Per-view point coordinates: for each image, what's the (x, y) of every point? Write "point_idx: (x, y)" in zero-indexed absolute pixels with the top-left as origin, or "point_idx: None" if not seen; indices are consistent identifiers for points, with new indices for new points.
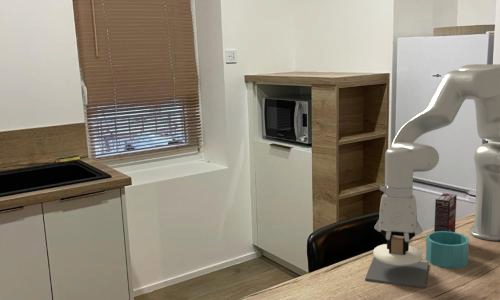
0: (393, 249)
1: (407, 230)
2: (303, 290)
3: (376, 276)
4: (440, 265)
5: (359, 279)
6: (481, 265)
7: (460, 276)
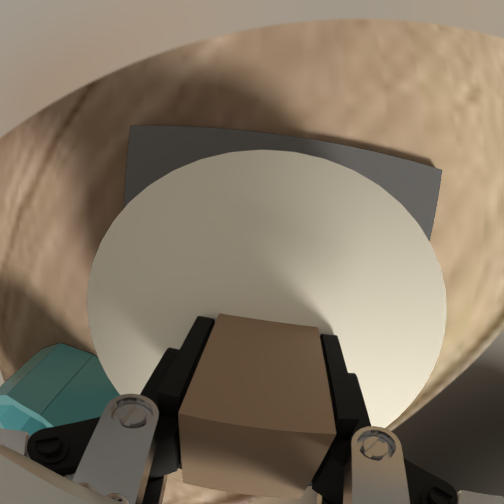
0: (301, 348)
1: (12, 492)
2: None
3: None
4: (90, 358)
5: (458, 178)
6: (13, 358)
7: (30, 280)
